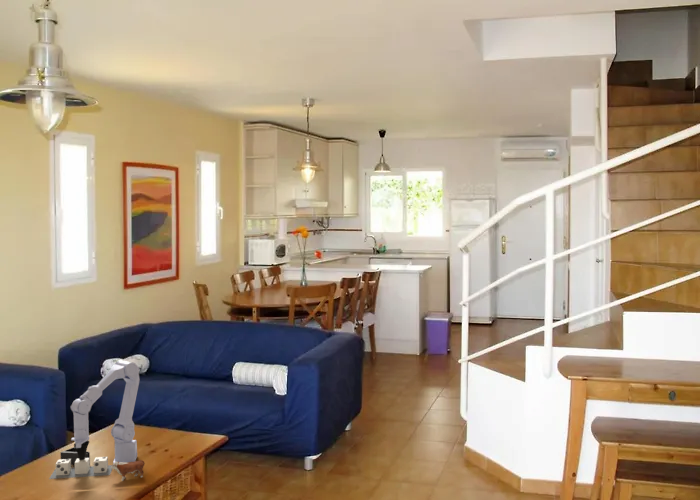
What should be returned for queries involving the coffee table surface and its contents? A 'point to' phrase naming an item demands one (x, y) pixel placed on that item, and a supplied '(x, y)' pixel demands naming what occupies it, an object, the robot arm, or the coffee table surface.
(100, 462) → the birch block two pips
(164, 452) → the coffee table surface
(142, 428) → the coffee table surface
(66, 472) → the birch block three pips
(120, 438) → the robot arm
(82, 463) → the birch block plain
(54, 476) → the slate mat
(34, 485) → the coffee table surface
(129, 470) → the bull figurine
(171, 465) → the coffee table surface
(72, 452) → the door stopper
